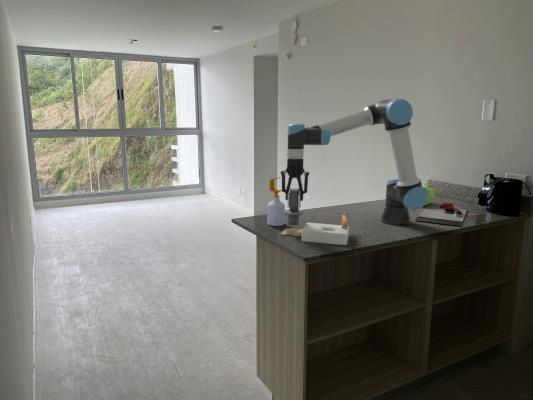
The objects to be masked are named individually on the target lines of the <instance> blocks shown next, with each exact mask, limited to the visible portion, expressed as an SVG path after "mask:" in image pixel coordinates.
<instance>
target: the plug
mask: <svg viewBox="0 0 533 400" xmlns="http://www.w3.org/2000/svg"><path fill="white" fill-rule="evenodd" d="M289 193H290V207H289V209H285V212H284V213H285V215H288V221H287V222H288V225H289V226H298V225H299V224H300V216H302V215H304V210H301V209H300V208H298V195H299V194H300V191H299V188H296V187H295V188H293V187H290V190H289Z"/></svg>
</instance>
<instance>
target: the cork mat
mask: <svg viewBox="0 0 533 400" xmlns="http://www.w3.org/2000/svg"><path fill="white" fill-rule="evenodd" d="M302 229H303V228H302ZM302 229H301V228H291V227H285V229H283V231H281V234H280V235H281V236H292V237H302Z"/></svg>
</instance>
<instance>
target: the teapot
mask: <svg viewBox="0 0 533 400" xmlns="http://www.w3.org/2000/svg"><path fill="white" fill-rule="evenodd" d="M427 184H428V181H424V183H423V184H422V187H423V188H424V189H425V190H426V191H427V193H428V199H427V202H426V203H425V204H424V206H428V205H429V204H430V203H431V201H433V200H434V199H436V196H437V195H436V191H435V188H434V187H428V185H427ZM424 206H423V207H424Z"/></svg>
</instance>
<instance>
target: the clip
mask: <svg viewBox="0 0 533 400" xmlns="http://www.w3.org/2000/svg"><path fill="white" fill-rule="evenodd" d="M341 220H342V221H341V225H347V226H348V221H347V217H346V214H342V216H341Z"/></svg>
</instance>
